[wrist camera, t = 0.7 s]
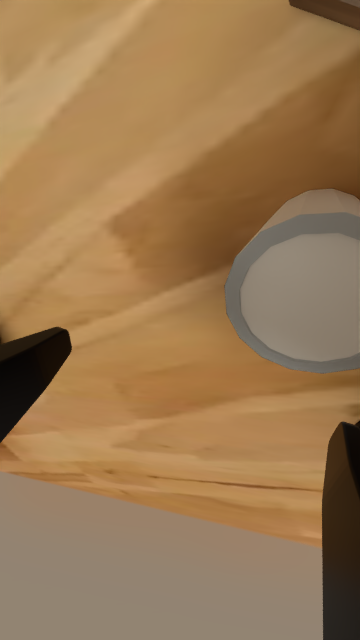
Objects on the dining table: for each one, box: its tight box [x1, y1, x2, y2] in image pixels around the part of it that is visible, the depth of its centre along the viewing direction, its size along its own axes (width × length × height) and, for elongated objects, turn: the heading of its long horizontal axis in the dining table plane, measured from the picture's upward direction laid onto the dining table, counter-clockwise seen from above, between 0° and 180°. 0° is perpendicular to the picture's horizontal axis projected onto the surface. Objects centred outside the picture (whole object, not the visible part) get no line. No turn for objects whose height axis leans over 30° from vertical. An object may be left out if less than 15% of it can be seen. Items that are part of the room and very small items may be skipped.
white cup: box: [225, 188, 360, 373], centre depth 14 cm, size 7×7×7 cm
